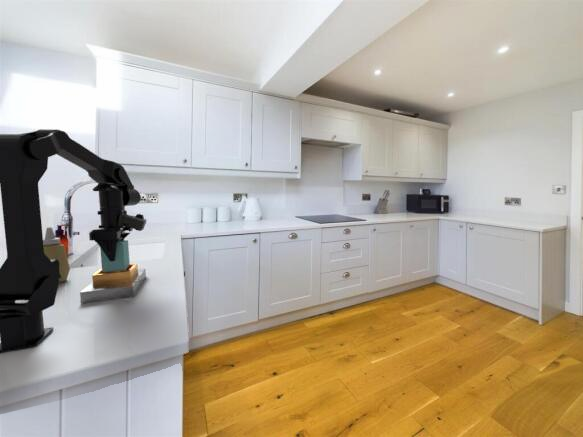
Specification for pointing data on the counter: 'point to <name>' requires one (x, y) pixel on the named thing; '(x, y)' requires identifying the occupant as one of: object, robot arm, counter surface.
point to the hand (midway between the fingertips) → (115, 258)
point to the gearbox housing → (113, 284)
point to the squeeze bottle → (56, 253)
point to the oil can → (116, 258)
